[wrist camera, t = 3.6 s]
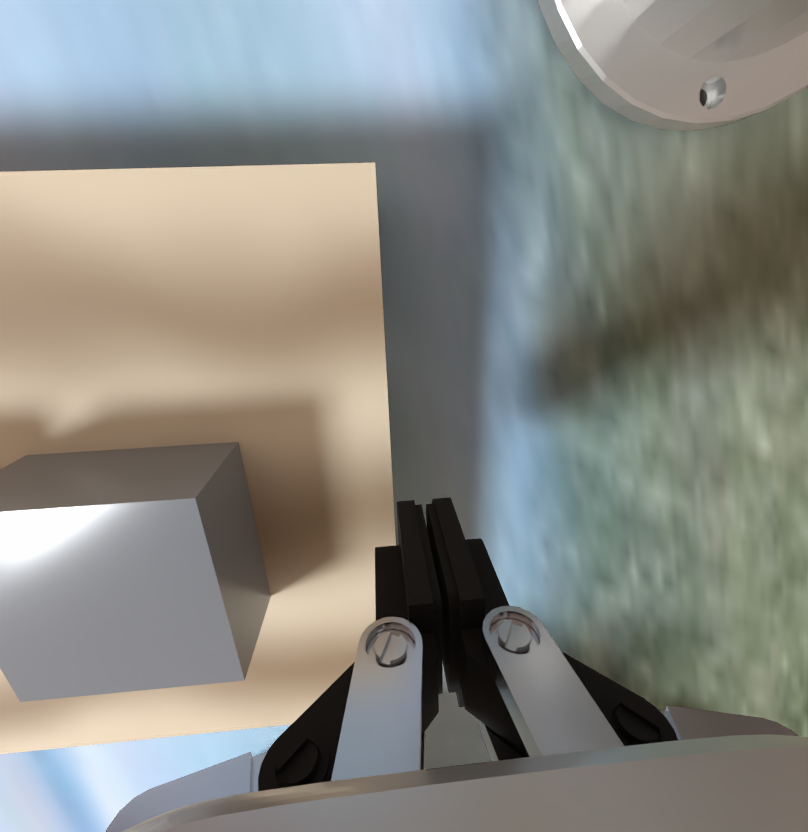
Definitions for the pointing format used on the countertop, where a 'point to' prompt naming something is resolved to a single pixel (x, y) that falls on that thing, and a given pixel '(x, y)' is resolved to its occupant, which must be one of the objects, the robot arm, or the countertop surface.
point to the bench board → (210, 396)
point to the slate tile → (128, 571)
